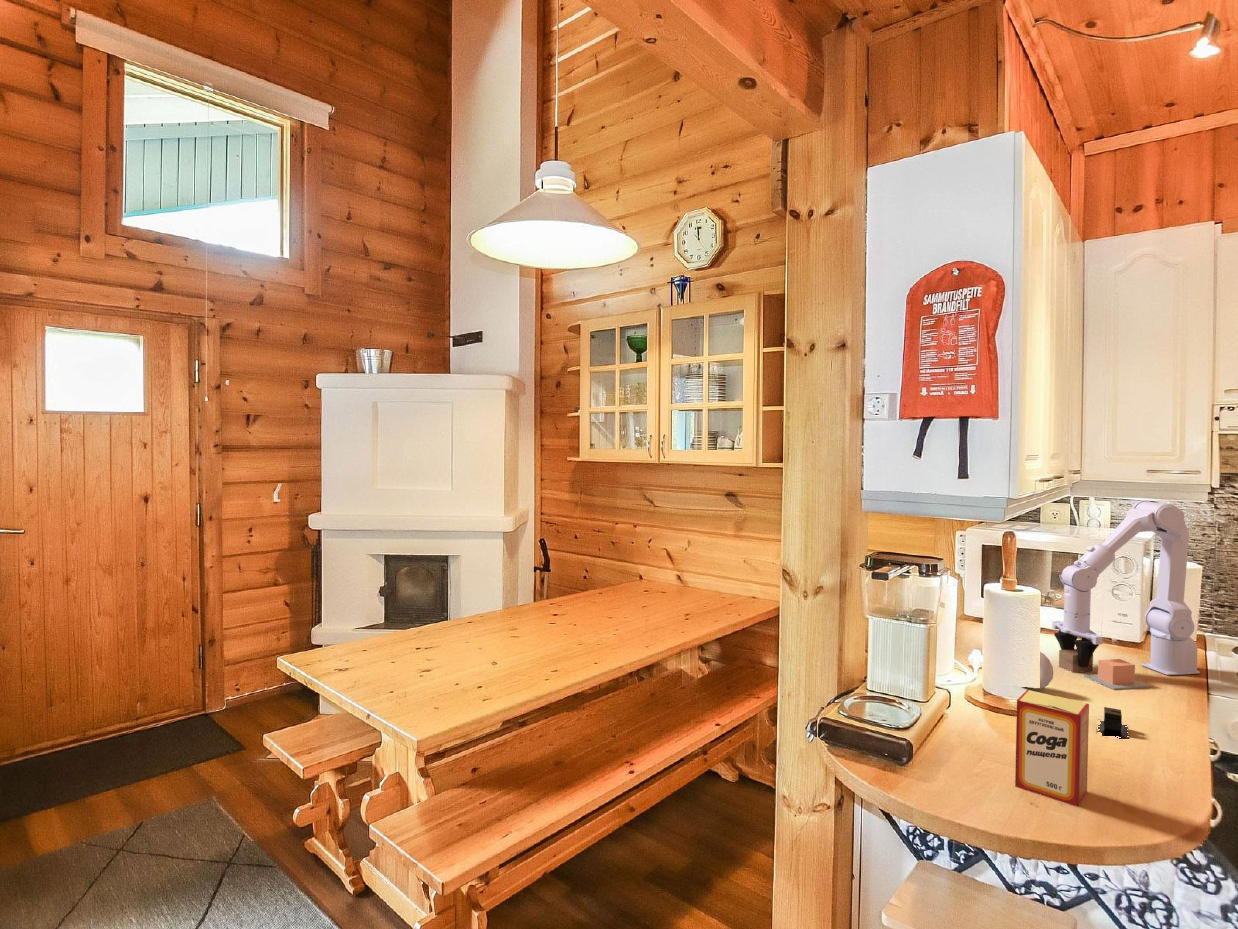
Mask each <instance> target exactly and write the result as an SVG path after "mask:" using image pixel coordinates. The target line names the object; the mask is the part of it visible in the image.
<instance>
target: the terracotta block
mask: <svg viewBox="0 0 1238 929" xmlns="http://www.w3.org/2000/svg"><path fill="white" fill-rule="evenodd" d="M1097 662H1098V663H1097V664H1098V665H1097V674H1098V678H1099V679H1102V680H1104V681H1106V682H1109V683H1111V684H1125V683H1134V682H1135V680H1136V678H1135V676H1136V675H1135V674H1136V665H1135V664H1133V663H1131V662H1128V661H1126V660H1124V659H1121V658H1113V659H1112V658H1111V659H1098V660H1097Z"/></svg>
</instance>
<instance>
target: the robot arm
mask: <svg viewBox="0 0 1238 929" xmlns="http://www.w3.org/2000/svg"><path fill="white" fill-rule="evenodd" d="M1152 531H1153V532H1154V533H1155V534H1156V535H1157V536H1158V537H1160V538H1161V540H1160V552H1159V563H1158V564H1159V565H1158V575H1157V588H1156V589H1157V590H1156V597H1155V598H1153V599H1152V600H1151V601H1149V606H1148V608H1147V610H1146V612H1145V615H1144V623H1145V624H1146V626H1147V627H1149V632H1150V656H1149V657H1150V659H1149V662H1141V663H1140V665H1141V666H1143V667H1145V668H1147V669H1150V670H1153V671H1156V672H1158V673H1161V674H1164V675H1167V676H1177V675H1178V676H1179V675H1181V676H1182V675H1194V674H1200V673H1201V671H1199V670H1198V646H1197V644H1196V642H1195V640H1194V639H1193V638H1192V637H1191V636H1192V635H1193V634H1194V631H1195V624H1194V623H1195V622H1194V621H1193V618H1192V610H1191V609H1190V607H1189V606H1188V605H1187V604H1186V602H1185V600H1184V599H1185V590H1186V579H1187V578H1186V576H1187V564H1188V553H1189V540H1190V539H1189V537H1190V531H1189V529H1188V526H1187V524H1186V522H1185V512H1183V510H1181V509H1180V508H1179V507H1177V506H1176V505H1174V504H1171V503H1160V502H1153V501H1149V500H1141V501H1140V500H1139V501H1138V502H1136V503H1135V504H1134V505H1133V507H1132V508H1130V509H1129V510H1127V512H1126V516H1125V518H1124V519H1123V520H1122V521H1121V522H1120V523H1119V525H1118V526H1117V527H1115V529H1114V530H1113V531H1112V532H1111V533H1110V535H1109V536H1108V537H1107V538H1106V539H1105V540H1104V541H1103V542H1102V543H1099V544H1093V545H1092V546H1091V545H1090V546H1088V547H1087V548H1086V552H1085V553H1084V554H1083V555H1082V556H1080V558H1079V559H1078V560H1075V561H1074V562H1073V565H1068V566H1066V567H1065V568H1064V569H1063V570H1062V571H1061V574H1059V580H1060V582H1061V583H1062V584H1063V591H1064V593H1063V594H1064V598H1063V599H1064V600H1063V603H1064V604H1063V621H1060V620H1059V621H1058V620H1055V621H1052V623H1051V624H1052V627H1051V628H1052V629H1053V630H1058V632H1054V638H1055V639H1056V640H1057V642H1058V644H1059V647H1060V650H1067V649H1077V653H1078V664H1079V667H1088V665H1089V662H1090V659H1091V657H1092V654H1093V655H1094V653H1095V651H1096V650H1097V648H1098V647H1099V646H1100V645H1103V642H1104V641H1103V640H1104V639H1103V638H1104V636H1101V635H1099V634H1097V633H1096V632H1094V631H1093V630H1091V601H1092V600H1091V599H1092V598H1091V594H1092V592H1091V591H1092V589H1093V588H1095V587H1096V586H1097V584H1098V578H1099V577H1100V575H1101V574H1102V573H1104V571H1105V570H1106V569H1107V568H1108V567H1109V566H1110V565H1112V563H1114V561H1115V560H1116V554H1115V553H1116V552H1118V551H1119V550H1120V549H1121V548H1122V547H1123V546H1125V545H1126V544H1127V543H1128V542H1129V541H1130V540H1132V539H1133V538H1134V537H1135V536H1136V535H1138V534H1140V533H1143V532H1152ZM1078 638H1079V639H1078Z"/></svg>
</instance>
